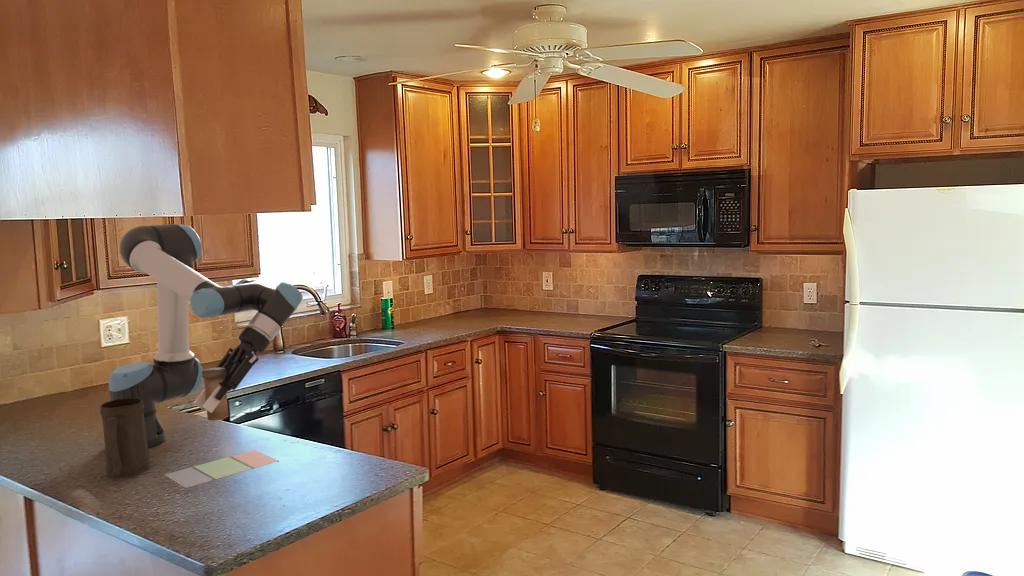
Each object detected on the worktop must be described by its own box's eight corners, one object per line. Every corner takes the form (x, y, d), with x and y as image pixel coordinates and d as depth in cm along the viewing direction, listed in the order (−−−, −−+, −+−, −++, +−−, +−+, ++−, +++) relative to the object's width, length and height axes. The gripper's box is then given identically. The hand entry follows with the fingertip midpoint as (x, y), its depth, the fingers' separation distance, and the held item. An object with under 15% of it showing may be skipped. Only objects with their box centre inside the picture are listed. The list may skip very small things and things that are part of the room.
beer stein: (109, 471, 191) (100, 399, 188) (154, 464, 195) (146, 393, 191) (99, 495, 177) (89, 417, 173) (148, 487, 181) (139, 411, 177)
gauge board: (164, 479, 183) (164, 474, 183) (255, 454, 200) (254, 449, 200) (186, 493, 173) (185, 487, 173) (279, 465, 190) (278, 460, 190)
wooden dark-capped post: (202, 418, 185) (198, 370, 183) (224, 413, 189) (220, 366, 187) (211, 422, 181) (207, 373, 179) (233, 416, 185) (229, 369, 183)
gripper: (285, 345, 187) (228, 422, 177) (254, 339, 200) (199, 410, 190) (264, 328, 183) (205, 405, 173) (233, 322, 196) (176, 394, 186)
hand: (202, 407), depth 182 cm, fingers closed on wooden dark-capped post, 5 cm apart
